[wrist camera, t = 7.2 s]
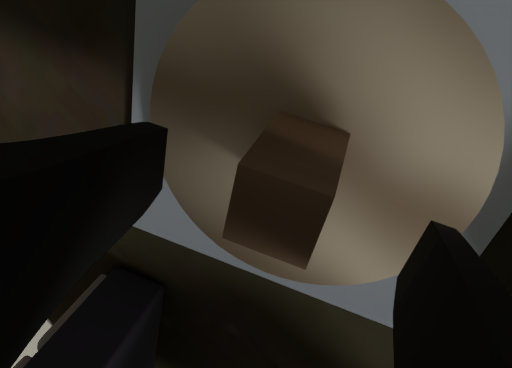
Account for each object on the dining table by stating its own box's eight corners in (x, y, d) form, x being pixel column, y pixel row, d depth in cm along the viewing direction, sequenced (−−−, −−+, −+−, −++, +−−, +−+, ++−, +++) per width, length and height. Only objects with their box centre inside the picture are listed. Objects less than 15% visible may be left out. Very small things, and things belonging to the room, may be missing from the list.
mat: (418, 328, 17) (419, 338, 16) (133, 218, 19) (127, 224, 18) (675, -29, 9) (688, -28, 9) (150, -152, 11) (141, -156, 11)
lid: (402, 310, 16) (404, 426, 12) (151, 214, 18) (81, 287, 14) (593, 17, 10) (733, 55, 6) (176, -90, 11) (58, -119, 7)
